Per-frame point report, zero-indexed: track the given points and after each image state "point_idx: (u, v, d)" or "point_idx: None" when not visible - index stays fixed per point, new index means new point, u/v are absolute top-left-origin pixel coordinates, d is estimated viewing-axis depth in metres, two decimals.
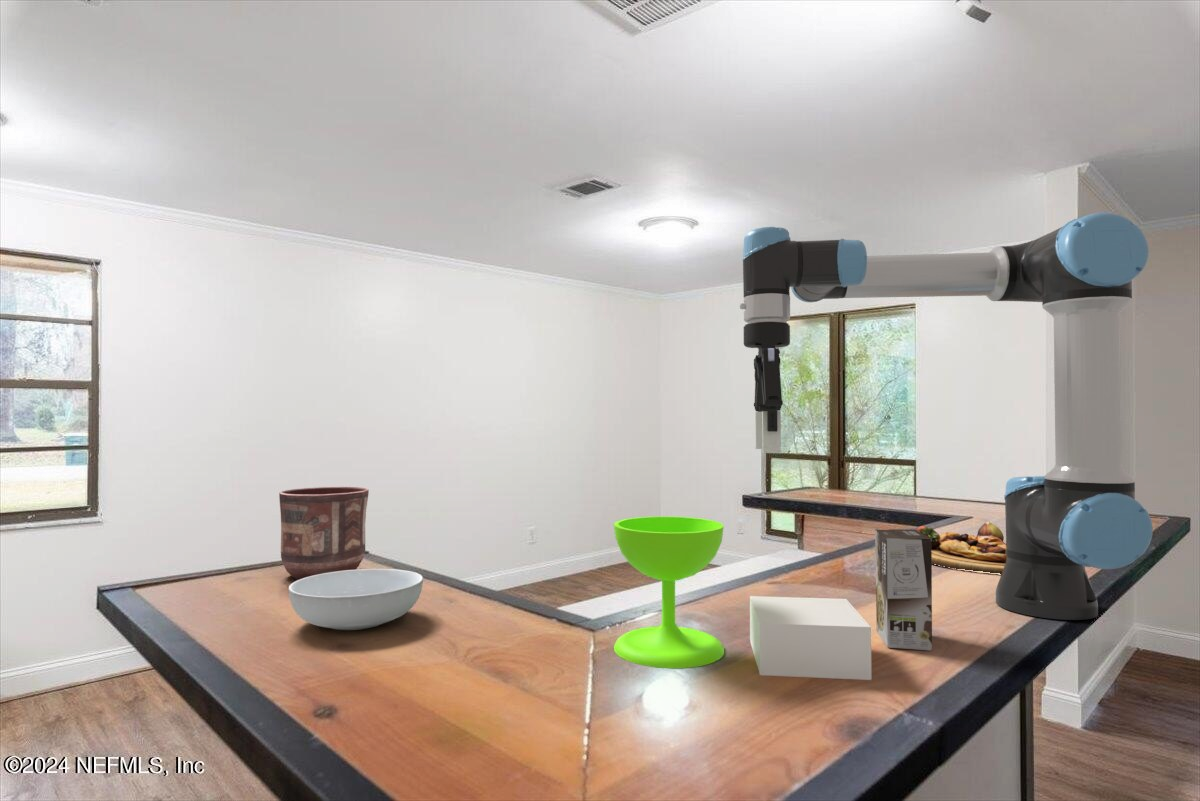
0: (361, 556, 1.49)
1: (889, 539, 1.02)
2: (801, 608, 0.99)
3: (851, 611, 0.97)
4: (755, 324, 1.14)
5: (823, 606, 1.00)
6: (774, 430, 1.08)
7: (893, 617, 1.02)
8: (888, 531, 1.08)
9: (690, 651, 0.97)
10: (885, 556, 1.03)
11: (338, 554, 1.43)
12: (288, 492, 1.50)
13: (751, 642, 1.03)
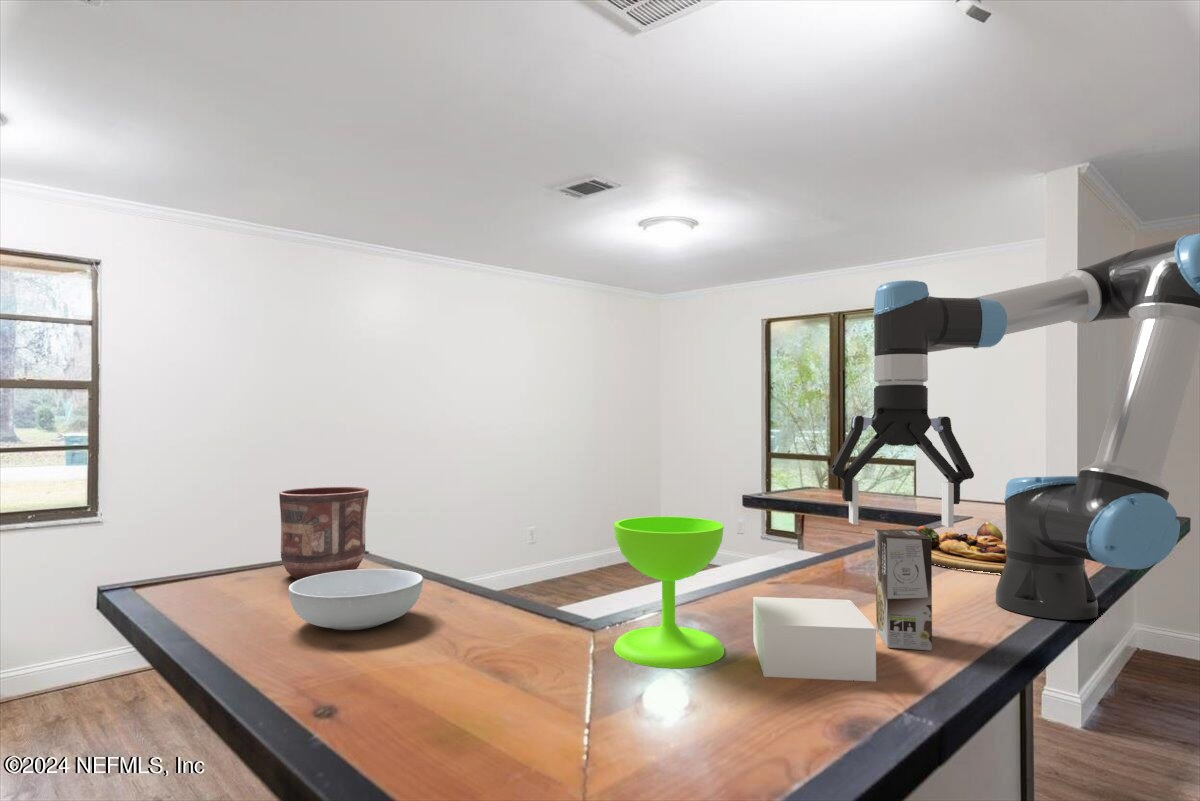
0: (361, 556, 1.49)
1: (889, 539, 1.02)
2: (805, 609, 0.98)
3: (855, 612, 0.97)
4: None
5: (827, 607, 0.99)
6: (844, 500, 1.07)
7: (893, 617, 1.02)
8: (888, 531, 1.08)
9: (690, 651, 0.97)
10: (885, 556, 1.03)
11: (338, 554, 1.43)
12: (288, 492, 1.50)
13: None
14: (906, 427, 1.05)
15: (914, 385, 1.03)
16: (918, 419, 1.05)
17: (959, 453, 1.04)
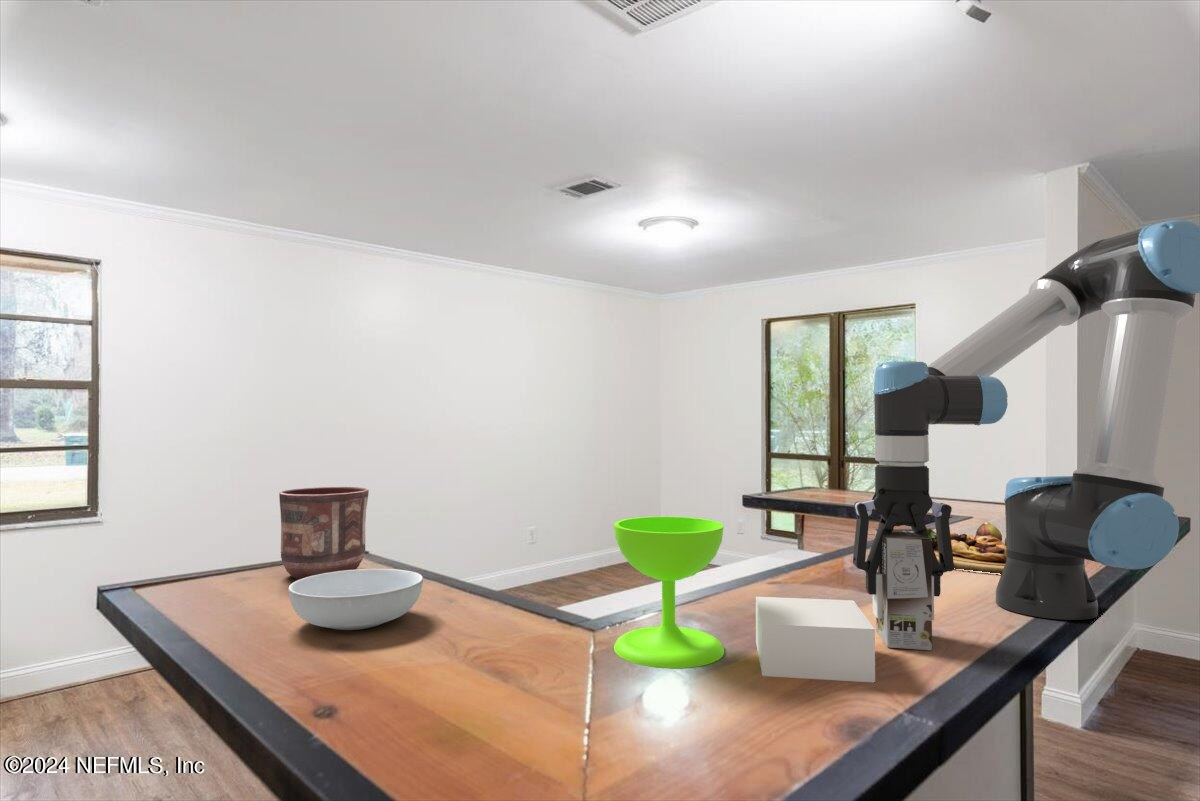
0: (361, 556, 1.49)
1: (889, 539, 1.02)
2: (806, 609, 0.98)
3: (857, 613, 0.96)
4: None
5: (829, 607, 0.99)
6: (868, 592, 1.06)
7: (893, 617, 1.02)
8: None
9: (690, 651, 0.97)
10: (885, 556, 1.03)
11: (338, 554, 1.43)
12: (288, 492, 1.50)
13: None
14: (908, 506, 1.05)
15: (915, 467, 1.03)
16: (920, 500, 1.05)
17: (947, 544, 1.04)
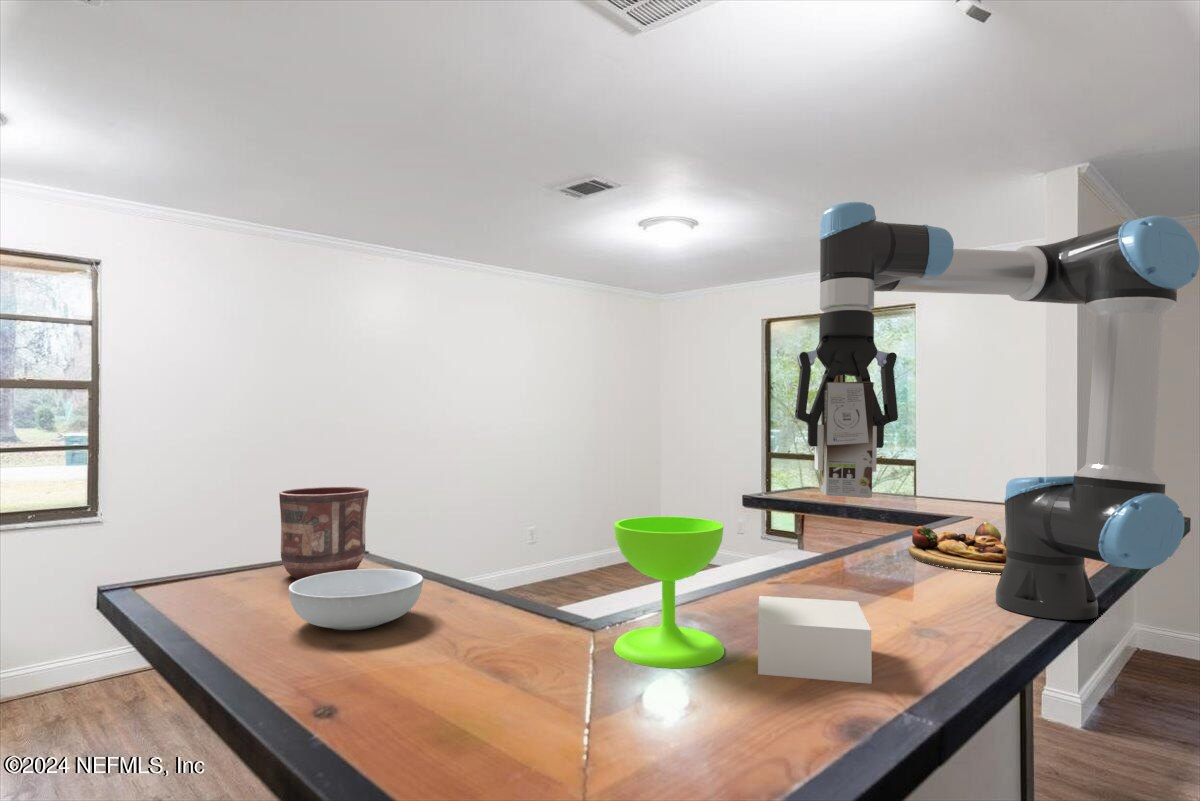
0: (361, 556, 1.49)
1: (830, 383, 0.98)
2: (806, 609, 0.98)
3: (857, 614, 0.96)
4: None
5: (830, 608, 0.99)
6: (809, 445, 1.02)
7: (832, 464, 0.98)
8: None
9: (690, 651, 0.97)
10: (826, 403, 0.99)
11: (338, 554, 1.43)
12: (288, 492, 1.50)
13: None
14: (851, 354, 1.01)
15: (859, 310, 0.99)
16: (864, 347, 1.01)
17: (892, 392, 1.00)
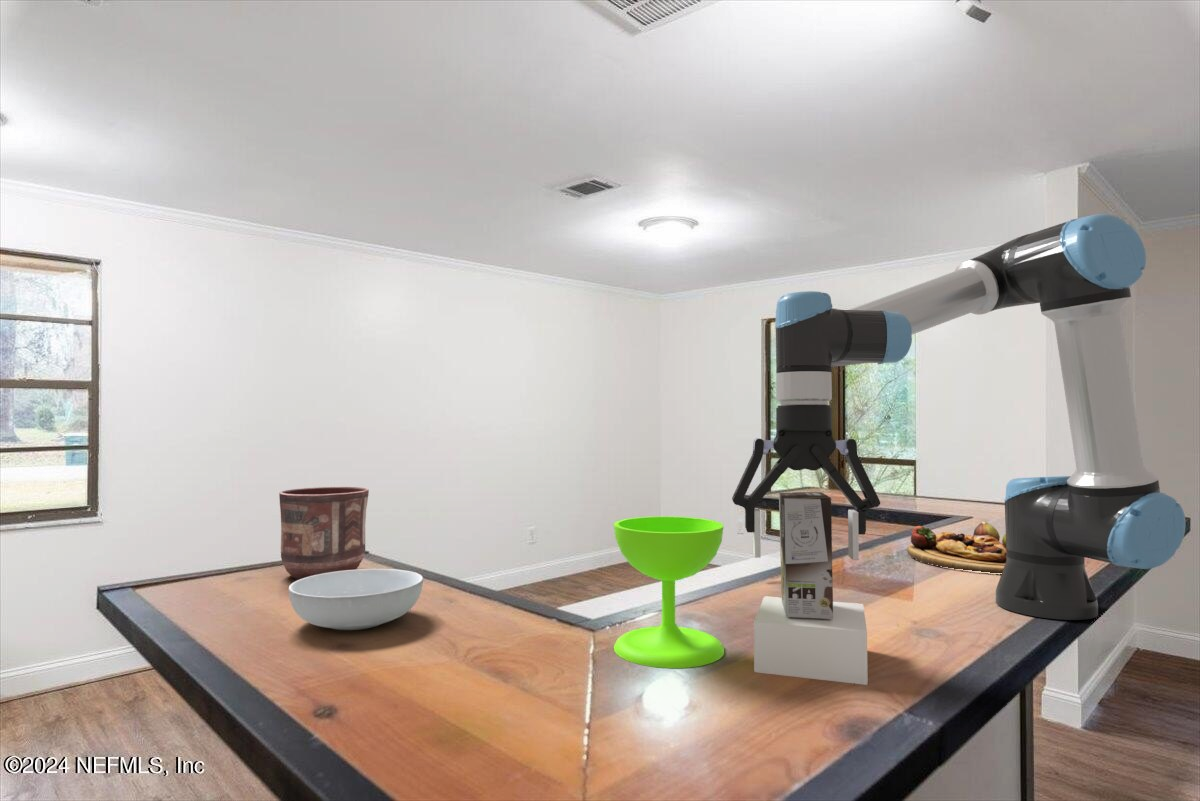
0: (361, 556, 1.49)
1: (786, 499, 0.94)
2: None
3: (858, 616, 0.95)
4: None
5: None
6: None
7: (791, 584, 0.94)
8: None
9: (690, 651, 0.97)
10: (783, 518, 0.95)
11: (338, 554, 1.43)
12: (288, 492, 1.50)
13: None
14: (809, 450, 0.97)
15: (815, 405, 0.95)
16: (822, 442, 0.97)
17: (865, 479, 0.96)
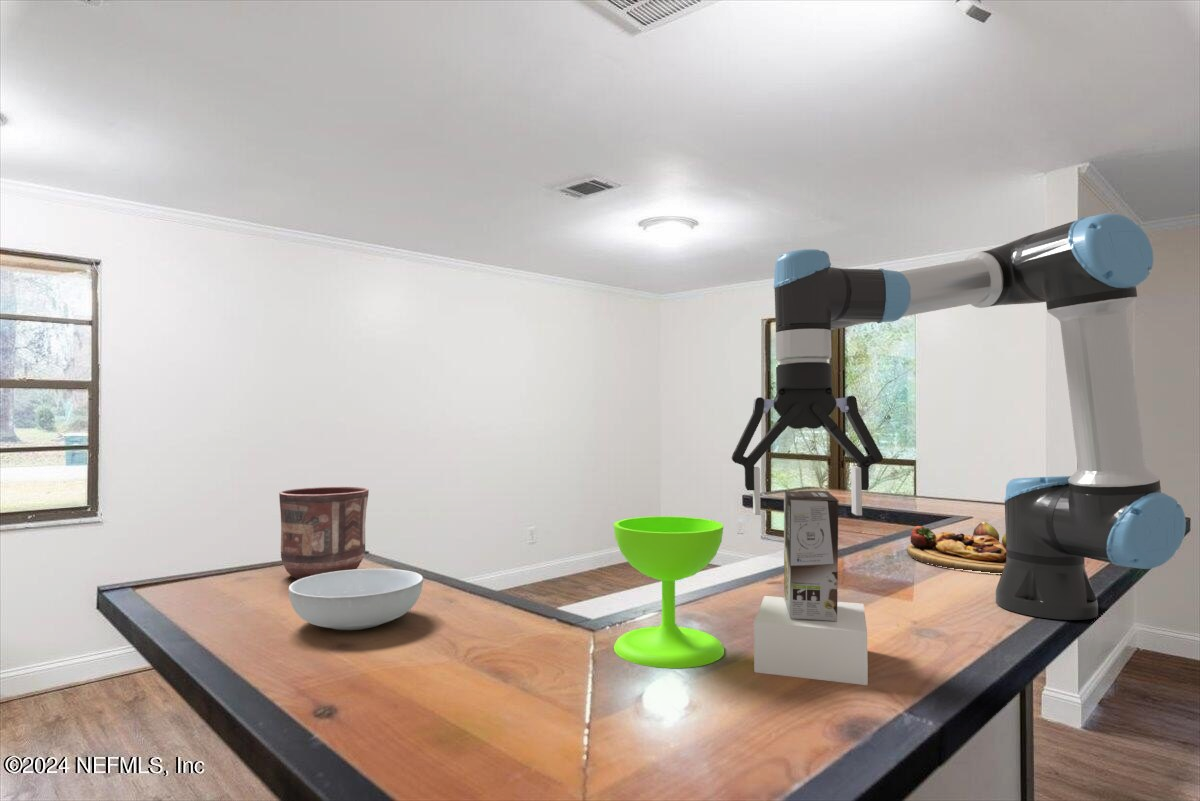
0: (361, 556, 1.49)
1: (793, 501, 0.93)
2: None
3: (858, 616, 0.95)
4: None
5: None
6: (746, 488, 0.99)
7: (796, 585, 0.93)
8: (796, 493, 0.99)
9: (690, 651, 0.97)
10: (789, 519, 0.94)
11: (338, 554, 1.43)
12: (288, 492, 1.50)
13: None
14: (809, 408, 0.97)
15: (815, 362, 0.95)
16: (822, 399, 0.97)
17: (866, 435, 0.96)
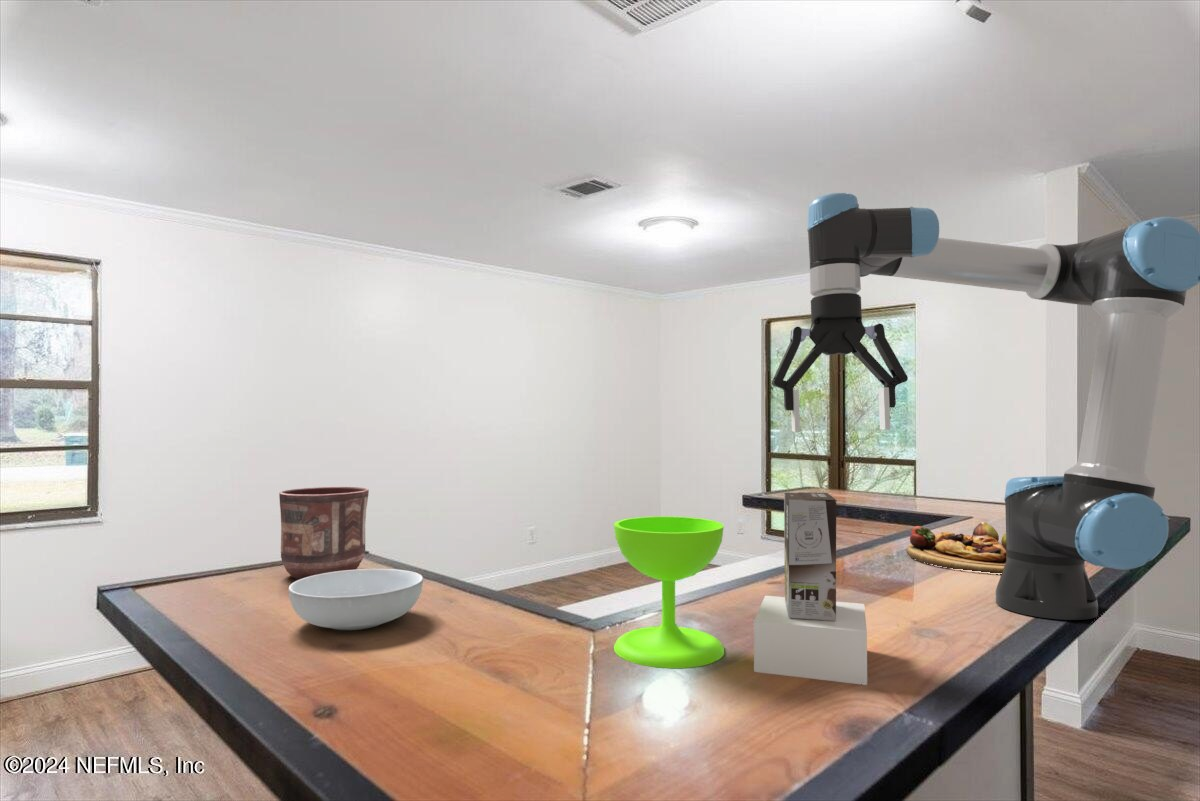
0: (361, 556, 1.49)
1: (791, 500, 0.94)
2: None
3: (859, 616, 0.95)
4: None
5: None
6: (786, 409, 1.10)
7: (795, 585, 0.94)
8: (796, 494, 1.00)
9: (690, 651, 0.97)
10: (788, 519, 0.95)
11: (338, 554, 1.43)
12: (288, 492, 1.50)
13: None
14: (842, 335, 1.09)
15: (848, 293, 1.07)
16: (853, 327, 1.09)
17: (893, 358, 1.08)
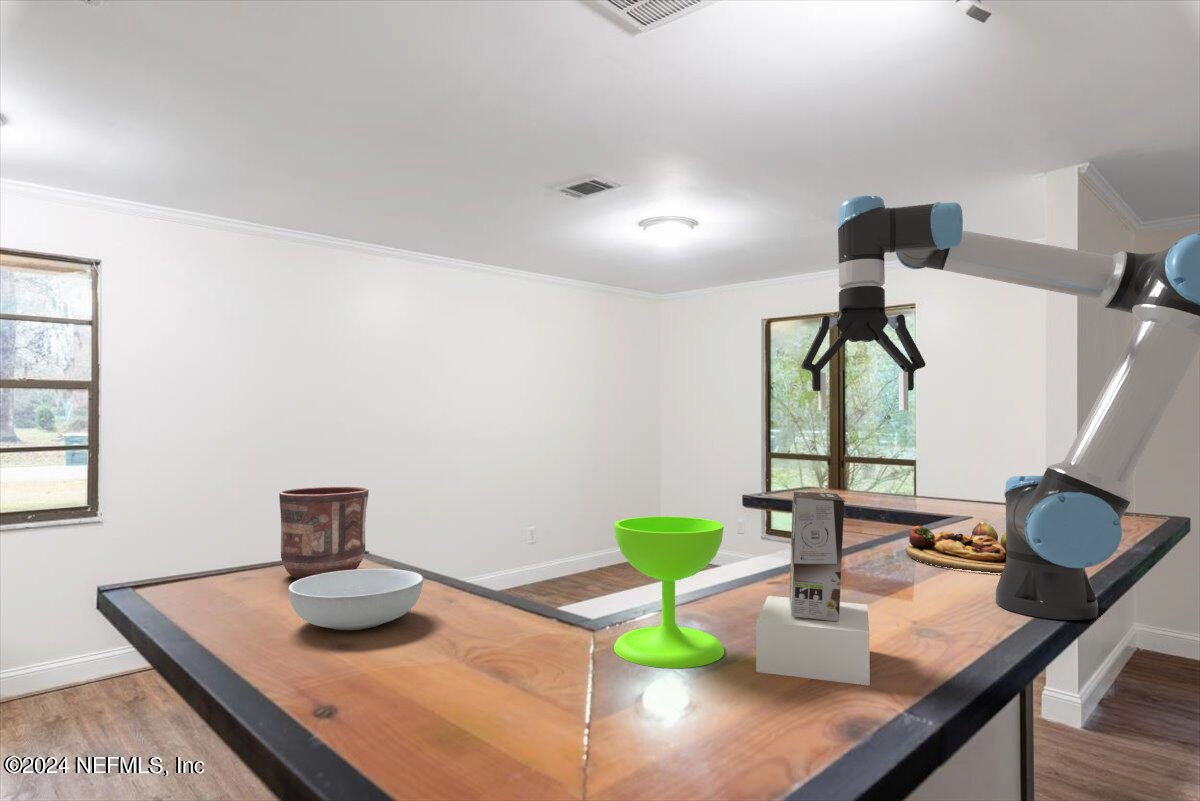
0: (361, 556, 1.49)
1: (799, 499, 0.94)
2: None
3: (861, 616, 0.95)
4: None
5: None
6: (814, 390, 1.22)
7: (799, 583, 0.94)
8: (805, 493, 1.00)
9: (690, 651, 0.97)
10: (795, 518, 0.95)
11: (338, 554, 1.43)
12: (288, 492, 1.50)
13: None
14: (866, 324, 1.21)
15: (872, 286, 1.19)
16: (877, 317, 1.20)
17: (912, 345, 1.20)
